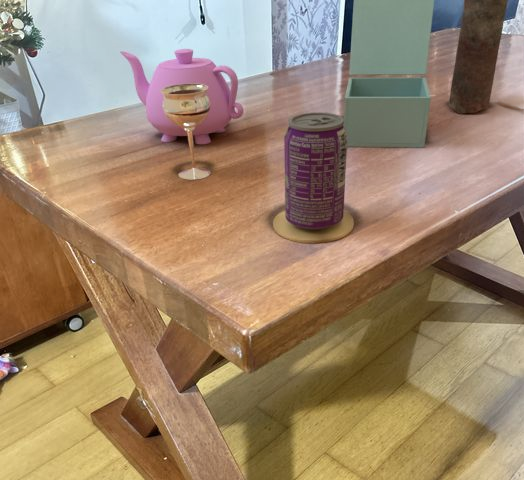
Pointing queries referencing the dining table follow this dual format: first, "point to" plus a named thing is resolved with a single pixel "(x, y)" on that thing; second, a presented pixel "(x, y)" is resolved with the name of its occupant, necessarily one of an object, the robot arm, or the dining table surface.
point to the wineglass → (187, 116)
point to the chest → (386, 111)
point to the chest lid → (390, 37)
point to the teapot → (183, 73)
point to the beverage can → (315, 170)
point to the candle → (477, 54)
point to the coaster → (312, 236)
